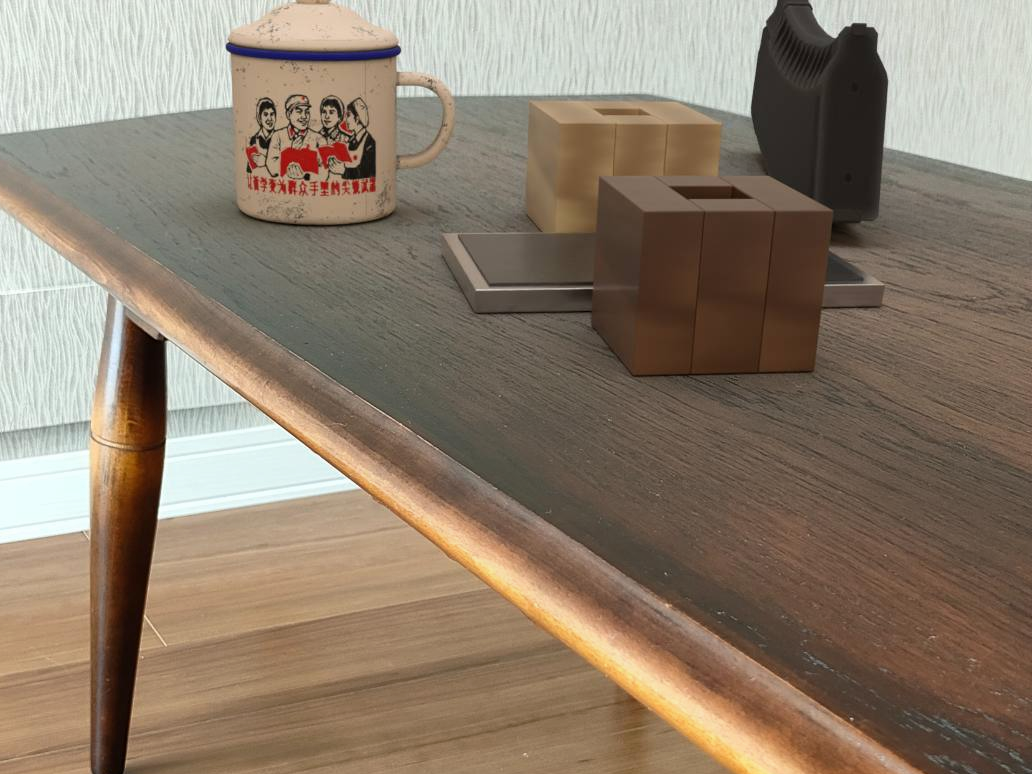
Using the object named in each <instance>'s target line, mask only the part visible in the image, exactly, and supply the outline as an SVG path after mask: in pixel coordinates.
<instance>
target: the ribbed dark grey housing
mask: <svg viewBox="0 0 1032 774" xmlns="http://www.w3.org/2000/svg"><path fill="white" fill-rule="evenodd" d="M813 10H814V8H813V6H812V4H811V3H810V0H776V5H775V7H774V8H773V12H772V13H771V14H770V15H769V16H768V18H767V19H766V20H765V26H764V27H763V28H762V32H761V39H760V43H759V47H758V51H757V57H756V65H755V71H754V72H755V73H754V79H753V87H752V95H751V101H750V102H751V103H750V117H751V120H752V121H751V122H752V125H753V131H754V135H755V137H756V141H757V144H758V147H759V151H760V153H761V158H762V161H763V163H764V166H765V169H766V172H767V174H768V176H770V177H772V178H773V179H775V180H777V181H779V182H781V183H783V184H785V185H787V186H788V187H790V188H792V189H794V190H796V191H798V192H800V193H801V194H803V195H805V196H807V197H809V198H811V199H813V200H814V201H816V202H818V203H820V204H822V205H824V206H826V207H828V208H829V209H831V210H833V219H832V224H834V223H835V224H836V223H838V224H860V223H862V221H864V222H865V221H867V222H873V221H876V219H877V218H878V217H879V215H880V203H881V202H880V200H881V189H882V188H881V187H882V175H883V173H882V172H883V159H884V146H885V135H886V134H885V131H886V118H887V108H888V107H887V105H888V91H889V77H888V73H887V70H886V68H885V66H884V63H883V60H882V59H881V57H880V55H879V52H878V43H879V42H878V41H879V40H878V39H879V33H878V32H877V30H876V29H875V27H874V26H868V23H867V22H853V23H851V25H850V26H849V25H845V26H844V27H843V28H842V29H841V31H840V32H839V33H838V34H837V36H836V37H833V36H832V35H830V34H828V32H827V31H825V30H824V28H823V27H822V26H821V25H820V24H819V22H818V20H817V18H816V17H815V14H814V12H813Z"/></svg>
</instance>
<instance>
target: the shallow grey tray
mask: <svg viewBox="0 0 1032 774" xmlns="http://www.w3.org/2000/svg"><path fill="white" fill-rule="evenodd" d="M440 241H441V242H440V243H441V244H440V245H441V246H440V247H441V249H440V251H441V252H440V253H441V255H442V257H443V259H444V261H445V262H446V264H447V265H448V267H449V269H450V271H451V273H452V275H453V277H454V278H455V280H456V282H457V284H458V286H459V287H460V289H461V291H462V293H463V294H464V296H465V297H466V300H467V301H468V303H469V305H470V306H471V308H472V310H473V312H474V314H489V313H490V314H491V313H493V314H494V313H548V312H549V313H551V312H553V313H554V312H555V313H557V312H558V313H559V312H561V313H562V312H592V296H593V278H594V260H595V242H596V232H546V233H543V232H451V233H450V232H443V233H441V240H440ZM885 286H886V284H885V283H883V282H882V281H880V280H879V279H877V278H875V277H873V276H872V275H871V274H869V273H867V272H865V271H864V270H862V269H861V268H859V267H858V266H856V265H854V264H852V263H851V262H849V261H847V260H846V259H844V258H842V257H841V256H839V255H837V254H836V253H834V252H832V251H831V250H829V252H828V260H827V269H826V277H825V285H824V293H823V301H822V308H862V307H863V308H864V307H866V308H868V307H871V308H872V307H882V306H883V301H884V300H883V299H884V292H885Z"/></svg>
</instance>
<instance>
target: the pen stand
mask: <svg viewBox="0 0 1032 774" xmlns="http://www.w3.org/2000/svg"><path fill="white" fill-rule="evenodd" d="M527 124H528V125H527V129H528V130H527V152H526V153H527V154H526V155H527V156H526V180H525V181H526V183H525V209H524V211H525V212H524V213H525V214H526V216H528V218H529V219H530V220H531V221H532V222H533V223H534V224H535V226H536V227H537V228H538V229H539V230H540V231H541V233H546V232H596V225H597V207H598V189H599V177H600V176H719V168H720V167H719V166H720V156H721V146H722V145H721V144H722V134H723V123H721V122H720V121H717V120H715V119H713V118H711V117H709V116H707V115H705V114H703V113H701V112H700V111H697V110H695V109H693V108H691V107H688V106H687V105H685V104H682V103H680V102H678V101H641V100H640V101H637V100H636V101H635V100H634V101H629V100H628V101H626V100H620V101H619V100H617V101H616V100H529V101H528V123H527Z"/></svg>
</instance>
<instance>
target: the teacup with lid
mask: <svg viewBox="0 0 1032 774" xmlns="http://www.w3.org/2000/svg"><path fill="white" fill-rule="evenodd" d="M331 1H332V0H295V1H293V2H286V3H282V4H280V5H276V6H275V7H273V8H272V9H270V10H269V11H268V12H267V13H265V14H264V15H263V16H261V17H260V18H259V19H257V20H255V21H253V22H251V23H249V24H244V25H241V26H237V27H236V28H233V29H232V30H231V31H230V33H229V35H228V37H227V41H228V42H227V43H226V44H225V50H226V51H227V52H228V53H230V70H231V93H232V95H231V97H232V117H233V139H234V163H235V165H234V166H235V187H236V188H235V189H236V202H237V206H238V209H239V210H240V211H241V212H243V213H244V214H245V215H247V216H249V217H252V218H256V219H258V220H263V221H267V222H272V223H279V224H289V225H302V226H303V225H305V226H306V225H307V226H334V225H350V224H357V223H365V222H370V221H375V220H378V219H381V218H384V217H387V216H389V215H390V214H391V213H392V212H393V211H394V210H395V209H396V206H397V170H410V169H417V168H420V167H423V166H426V165H428V164H430V163H431V162H433V161H434V160H435V159H437V158H438V157H439V156H440V155H441V154H442V152H443V151H444V150H445V148H446V147H447V146H448V143H449V142H450V139H451V137H452V135H453V131H454V128H455V124H456V114H457V112H456V103H455V100H454V97H453V96H454V95H453V94H452V92H451V91H450V89H449V88H448V86H447V85H446V84H445V83H444V82H443V81H442V80H441V79H439V78H437V77H436V76H434V75H432V74H430V73H426V72H421V71H397V67H398V66H397V63H398V61H397V60H398V59H397V58H398V57H397V56H399V55H401V53H402V48H401V46H400V45H399V43H400V40H399V38H398V36H397V35H396V33H395V32H392V31H391V30H389V29H385V28H382V27H380V26H378V25H375V24H373V23H371V22H369V21H368V20H366V19H365V18H364V17H362V16H361V15H360V14H358V13H357V11H355V10H353V9H352V8H350V7H348V6H345V5H343V4H339V3H335V2H331ZM398 87H421V88H425V89H427V90H429V91H431V92H433V93H434V94H435V95H436V96H437V97H438V98H439V100H440V102H441V105H442V121H441V125H440V128H439V131H438V132H437V134H436V136H435V138H434V139H433V141H432V142H431V143H429V145H428V146H427V147H425V148H424V149H422V150H420V151H417V152H414V153H407V154H397V126H398V125H397V117H398V116H397V115H398V114H397V107H398V106H397V102H398V101H397V97H398V96H397V93H398V91H397V88H398Z"/></svg>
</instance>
